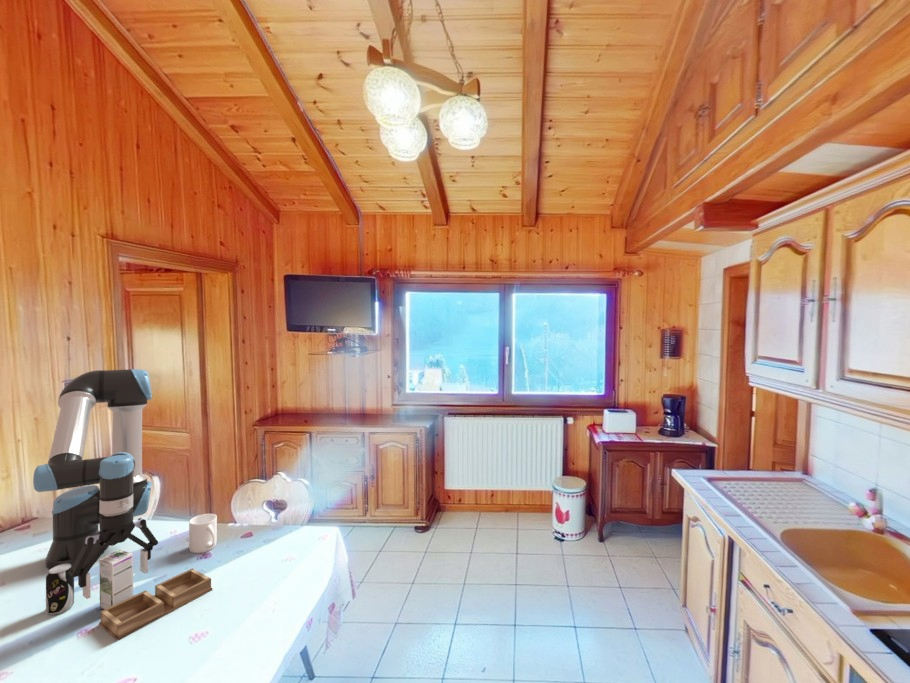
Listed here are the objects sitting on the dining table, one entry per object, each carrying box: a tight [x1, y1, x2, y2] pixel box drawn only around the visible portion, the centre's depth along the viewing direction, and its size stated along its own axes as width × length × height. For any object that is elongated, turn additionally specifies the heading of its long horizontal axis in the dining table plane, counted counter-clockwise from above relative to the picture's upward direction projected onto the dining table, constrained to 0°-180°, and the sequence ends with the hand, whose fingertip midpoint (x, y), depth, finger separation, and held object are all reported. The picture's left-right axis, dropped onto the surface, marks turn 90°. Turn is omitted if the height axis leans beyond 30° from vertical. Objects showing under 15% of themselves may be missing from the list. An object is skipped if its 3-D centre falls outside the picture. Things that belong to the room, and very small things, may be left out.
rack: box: [98, 568, 213, 641], centre depth 118 cm, size 11×24×4 cm, turn 150°
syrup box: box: [98, 549, 134, 610], centre depth 118 cm, size 6×6×14 cm
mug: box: [188, 513, 218, 554], centre depth 148 cm, size 9×12×11 cm
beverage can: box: [45, 564, 75, 615], centre depth 115 cm, size 6×6×12 cm
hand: (116, 583), depth 118 cm, fingers open, 13 cm apart
